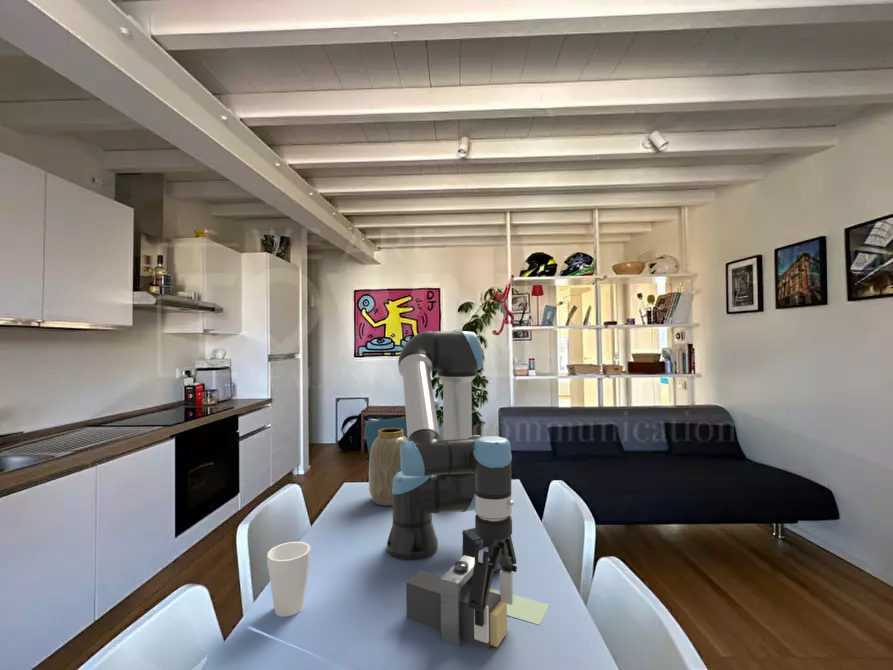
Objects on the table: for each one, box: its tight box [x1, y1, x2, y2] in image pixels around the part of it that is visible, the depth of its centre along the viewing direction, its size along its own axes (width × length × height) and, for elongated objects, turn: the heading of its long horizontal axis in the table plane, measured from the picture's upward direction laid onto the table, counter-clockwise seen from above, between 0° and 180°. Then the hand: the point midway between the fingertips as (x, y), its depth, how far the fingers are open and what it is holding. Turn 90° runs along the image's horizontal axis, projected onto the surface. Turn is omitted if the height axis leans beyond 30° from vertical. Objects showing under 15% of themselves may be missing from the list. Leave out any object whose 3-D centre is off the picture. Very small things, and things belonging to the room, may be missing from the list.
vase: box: [368, 427, 408, 507], centre depth 169 cm, size 17×17×27 cm
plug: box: [405, 569, 508, 650], centre depth 93 cm, size 22×6×8 cm, turn 59°
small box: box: [461, 527, 504, 575], centre depth 115 cm, size 11×6×10 cm, turn 117°
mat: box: [489, 587, 550, 626], centre depth 100 cm, size 18×8×1 cm, turn 62°
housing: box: [440, 555, 475, 648], centre depth 92 cm, size 4×11×13 cm, turn 152°
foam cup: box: [266, 541, 311, 618], centre depth 100 cm, size 10×9×13 cm
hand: (494, 620), depth 88 cm, fingers open, 13 cm apart
